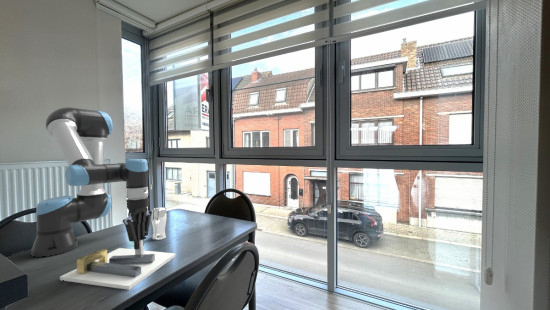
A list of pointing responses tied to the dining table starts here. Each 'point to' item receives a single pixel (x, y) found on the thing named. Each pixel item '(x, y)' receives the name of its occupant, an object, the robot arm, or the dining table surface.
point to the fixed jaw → (114, 269)
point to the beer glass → (159, 223)
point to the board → (120, 280)
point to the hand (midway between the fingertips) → (139, 256)
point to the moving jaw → (132, 259)
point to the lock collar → (91, 260)
